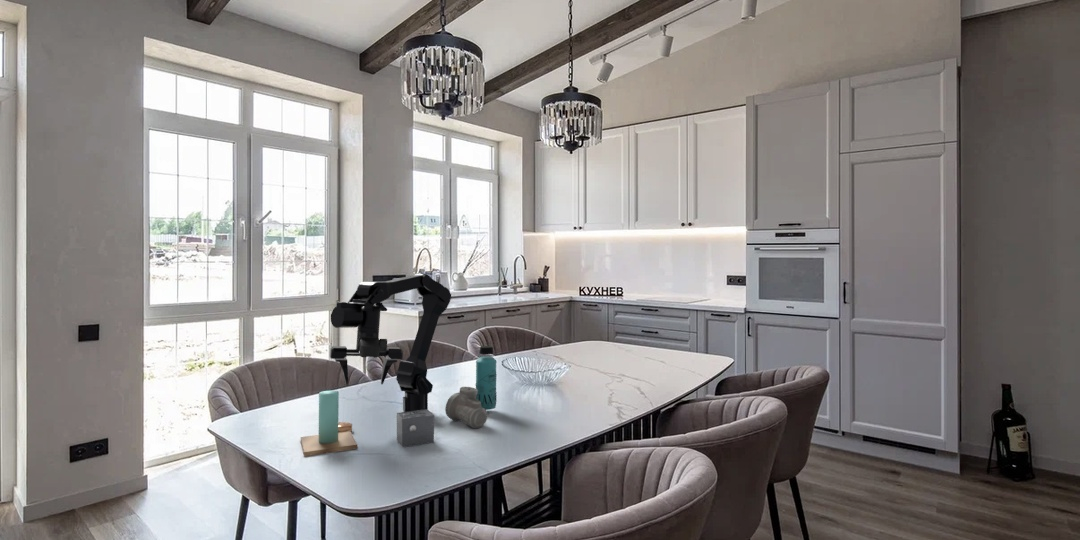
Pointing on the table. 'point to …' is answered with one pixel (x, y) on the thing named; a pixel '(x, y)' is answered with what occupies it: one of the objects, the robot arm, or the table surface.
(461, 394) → the pipe fitting
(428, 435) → the box
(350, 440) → the board
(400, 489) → the table surface
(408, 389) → the robot arm
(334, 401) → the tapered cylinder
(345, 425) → the copper dome
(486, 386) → the beverage bottle
